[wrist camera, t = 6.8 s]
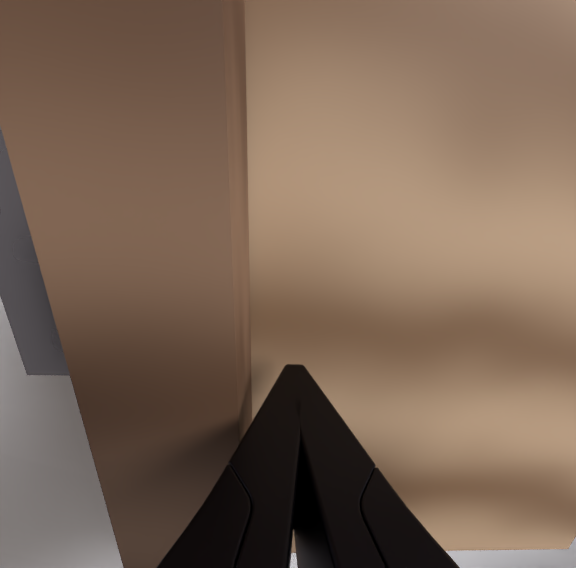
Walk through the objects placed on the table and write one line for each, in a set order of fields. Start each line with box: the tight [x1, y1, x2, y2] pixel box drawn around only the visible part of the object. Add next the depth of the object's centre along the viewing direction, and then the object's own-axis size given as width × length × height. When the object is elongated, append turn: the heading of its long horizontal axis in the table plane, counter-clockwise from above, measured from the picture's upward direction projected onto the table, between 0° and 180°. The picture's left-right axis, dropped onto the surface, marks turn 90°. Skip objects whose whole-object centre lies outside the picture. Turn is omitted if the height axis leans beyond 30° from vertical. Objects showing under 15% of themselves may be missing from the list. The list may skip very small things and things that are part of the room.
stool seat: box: [0, 0, 576, 553], centre depth 9 cm, size 20×18×4 cm
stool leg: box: [0, 0, 252, 568], centre depth 8 cm, size 18×3×3 cm, turn 178°
